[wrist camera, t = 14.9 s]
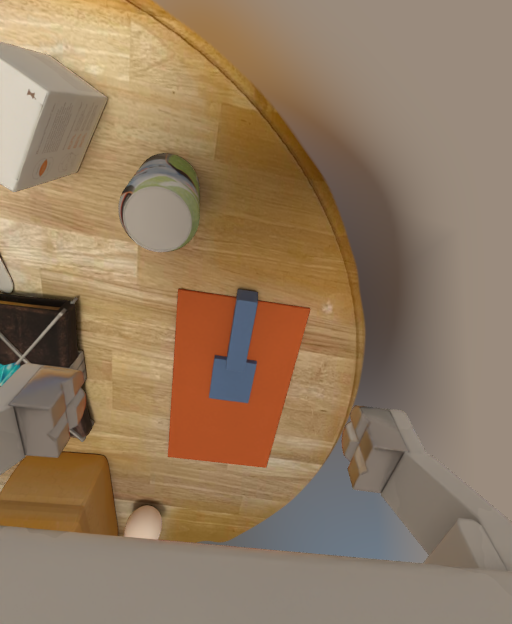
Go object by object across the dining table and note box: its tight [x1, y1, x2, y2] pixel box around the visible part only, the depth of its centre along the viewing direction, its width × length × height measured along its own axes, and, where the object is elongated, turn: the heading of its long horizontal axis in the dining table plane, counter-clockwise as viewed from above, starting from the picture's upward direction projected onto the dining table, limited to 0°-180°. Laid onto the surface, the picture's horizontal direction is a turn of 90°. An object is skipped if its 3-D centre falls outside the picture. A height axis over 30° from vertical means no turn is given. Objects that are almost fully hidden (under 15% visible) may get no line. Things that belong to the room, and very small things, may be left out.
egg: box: [124, 505, 162, 540], centre depth 59 cm, size 6×6×8 cm
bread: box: [0, 452, 118, 536], centre depth 54 cm, size 24×13×15 cm, turn 173°
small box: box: [0, 42, 108, 192], centre depth 27 cm, size 8×6×10 cm
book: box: [0, 294, 95, 442], centre depth 43 cm, size 22×17×5 cm
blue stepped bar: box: [209, 289, 258, 403], centre depth 43 cm, size 17×6×3 cm, turn 170°
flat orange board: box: [168, 289, 310, 468], centre depth 48 cm, size 30×16×1 cm, turn 171°
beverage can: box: [119, 153, 200, 252], centre depth 30 cm, size 6×7×12 cm
